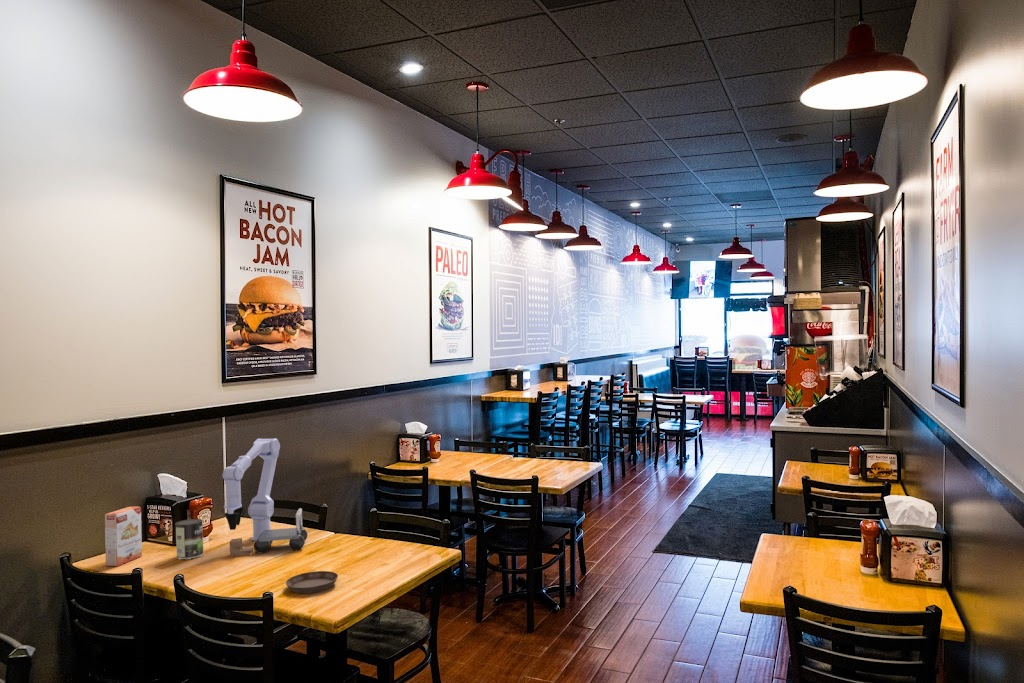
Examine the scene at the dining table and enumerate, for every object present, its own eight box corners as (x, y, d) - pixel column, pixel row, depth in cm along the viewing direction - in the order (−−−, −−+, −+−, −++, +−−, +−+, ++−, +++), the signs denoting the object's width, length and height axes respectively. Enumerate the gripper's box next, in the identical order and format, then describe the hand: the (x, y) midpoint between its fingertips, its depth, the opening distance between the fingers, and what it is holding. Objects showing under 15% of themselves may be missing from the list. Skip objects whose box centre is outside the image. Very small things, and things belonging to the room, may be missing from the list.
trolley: (259, 545, 306) (258, 511, 306) (307, 541, 310) (306, 507, 310) (254, 553, 294) (252, 518, 294) (304, 549, 297) (303, 514, 297)
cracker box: (118, 567, 282) (116, 514, 282) (105, 566, 283) (103, 513, 283) (143, 556, 296) (141, 505, 296) (130, 556, 297) (128, 505, 297)
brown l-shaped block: (232, 553, 295) (231, 539, 295) (252, 551, 297) (252, 537, 297) (230, 556, 291) (229, 542, 291) (250, 554, 292) (250, 540, 292)
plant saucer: (275, 590, 248) (274, 582, 248) (315, 576, 262) (314, 567, 262) (309, 599, 238) (309, 590, 238) (348, 583, 253) (348, 574, 253)
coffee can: (208, 551, 299) (206, 518, 299) (196, 559, 289) (195, 524, 289) (183, 552, 299) (182, 519, 299) (171, 560, 289) (170, 525, 289)
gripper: (227, 492, 307) (228, 523, 307) (219, 499, 293) (220, 532, 293) (244, 491, 309) (245, 522, 309) (237, 498, 294) (238, 530, 294)
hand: (234, 527), depth 301 cm, fingers open, 7 cm apart
